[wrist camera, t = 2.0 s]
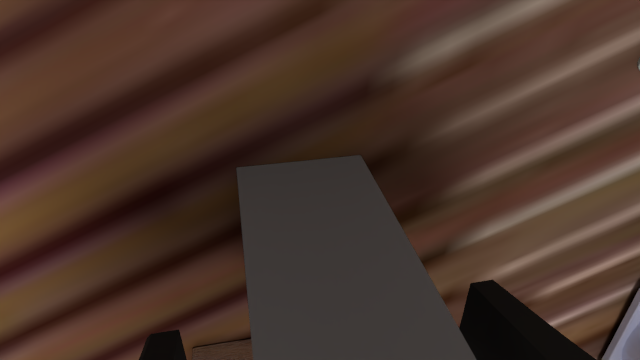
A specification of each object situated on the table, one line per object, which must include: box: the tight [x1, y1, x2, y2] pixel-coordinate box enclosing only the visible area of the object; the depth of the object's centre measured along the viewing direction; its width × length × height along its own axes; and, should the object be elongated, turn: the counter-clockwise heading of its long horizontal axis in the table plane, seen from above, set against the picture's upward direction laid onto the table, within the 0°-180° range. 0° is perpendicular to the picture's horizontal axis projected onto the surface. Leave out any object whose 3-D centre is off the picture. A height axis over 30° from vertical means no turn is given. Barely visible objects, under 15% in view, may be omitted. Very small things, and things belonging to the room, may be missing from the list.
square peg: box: [236, 155, 476, 360], centre depth 12 cm, size 4×4×8 cm
